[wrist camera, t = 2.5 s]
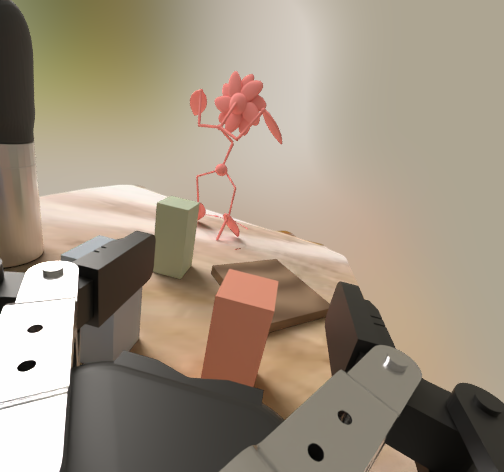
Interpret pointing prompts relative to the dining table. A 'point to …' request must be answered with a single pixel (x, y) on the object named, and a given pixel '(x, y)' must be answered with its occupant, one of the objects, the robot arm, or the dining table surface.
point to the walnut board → (282, 292)
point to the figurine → (234, 123)
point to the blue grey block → (113, 329)
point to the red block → (239, 327)
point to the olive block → (175, 236)
